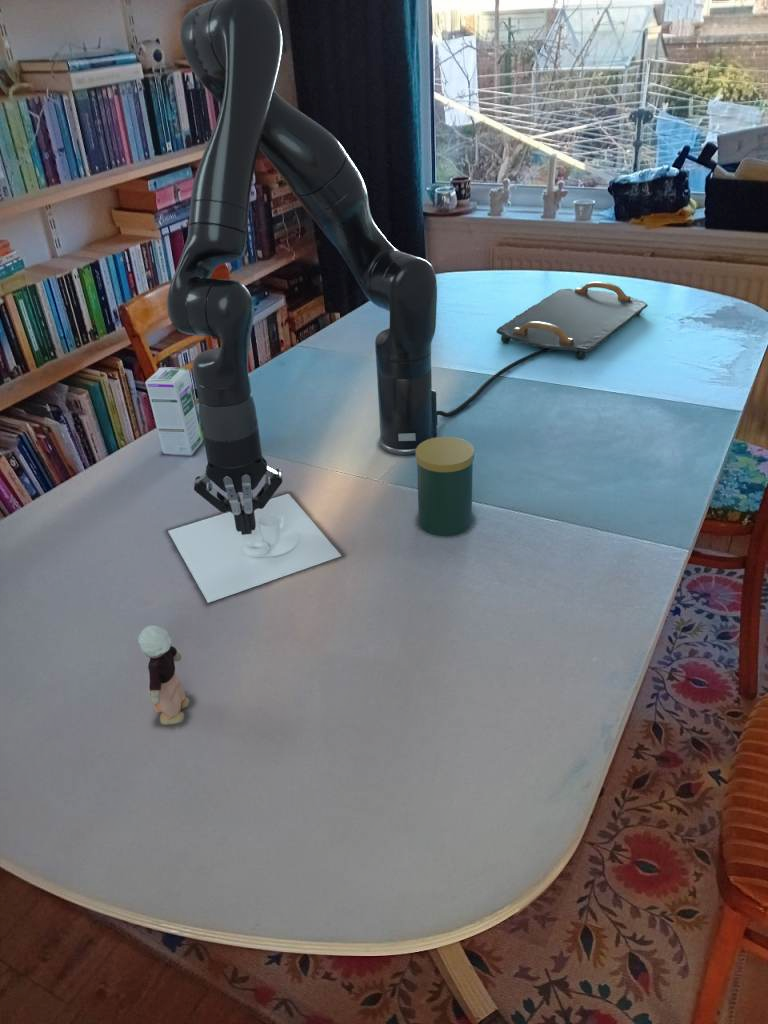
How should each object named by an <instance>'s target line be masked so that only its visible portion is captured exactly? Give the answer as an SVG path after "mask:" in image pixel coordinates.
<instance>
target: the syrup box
mask: <svg viewBox="0 0 768 1024" xmlns="http://www.w3.org/2000/svg"><path fill="white" fill-rule="evenodd" d="M190 373H191V372H190V369H189V368H186V367H178V366H177V367H175V366H169V367H167V366H166V367H159V368H158V369H157V371H156V372H154V373H153V374H152V375H151V376H150V377H148V379H147V380H145V381H144V382H145V387H146V390H147V394H148V399H149V403H150V407H151V410H152V415H153V419H154V423H155V426H156V430H157V434H158V438H159V443H160V446H161V451H162V454H165V455H172V456H193V455H194V453H195V452H196V451H197V449H198V448H199V447H200V446H201V444H203V443H204V439H203V433H202V431H201V427H200V423H201V422H200V416H199V409H198V405H197V401H196V396H195V392H194V388H193V387H194V386H193V383H192V377H191V374H190Z"/></svg>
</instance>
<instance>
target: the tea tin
mask: <svg viewBox="0 0 768 1024" xmlns="http://www.w3.org/2000/svg"><path fill="white" fill-rule="evenodd" d="M415 461H416V466H417V468H416V469H417V470H416V471H417V502H418V503H417V504H418V506H417V507H418V509H417V510H418V523H419V526H420V528H421V529H422V530H424V531H425V532H426V533H429V534H431V535H435V536H442V537H448V536H455V535H458V534H461V533H464V532H465V531H467V530H468V529H469V528H470V527H471V525H472V521H473V469H474V467H473V465H474V463H473V462H474V461H475V448H474V446H473V444H471V443H470V441H469V442H468V441H467V440H465V439H463V438H459V437H454V436H437V437H436V438H431V439H428V440H426V441H423V442H422V443H420V444H419V445H418V446H417V448H416V454H415Z"/></svg>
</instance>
